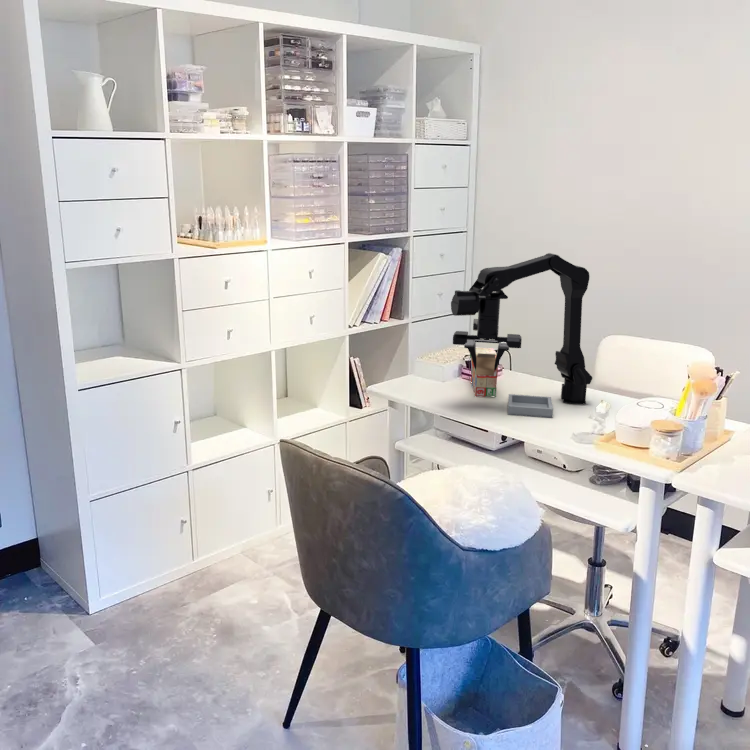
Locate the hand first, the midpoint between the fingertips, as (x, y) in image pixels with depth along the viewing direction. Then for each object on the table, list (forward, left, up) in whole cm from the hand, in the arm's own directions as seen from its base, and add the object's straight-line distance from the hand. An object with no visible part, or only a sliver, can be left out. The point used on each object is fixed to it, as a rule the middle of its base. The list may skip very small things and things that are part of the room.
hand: (485, 369), depth 217 cm
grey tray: (-13, 0, -11) cm, 17 cm away
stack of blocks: (+1, -21, -11) cm, 24 cm away
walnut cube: (0, 0, -1) cm, 1 cm away
